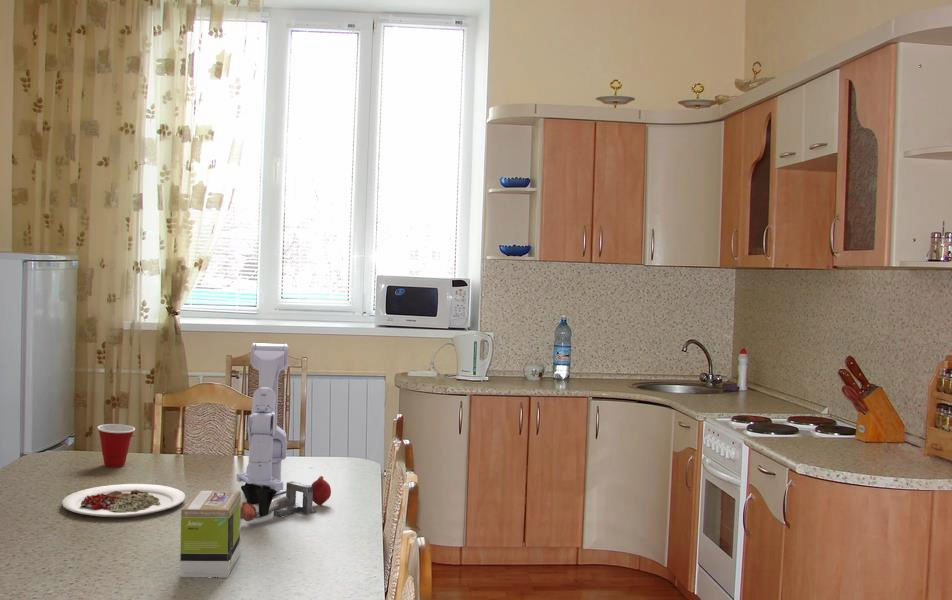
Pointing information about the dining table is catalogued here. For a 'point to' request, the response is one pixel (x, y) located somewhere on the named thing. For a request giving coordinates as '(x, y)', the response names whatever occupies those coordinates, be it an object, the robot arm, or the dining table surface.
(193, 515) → the tea box
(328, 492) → the pomegranate
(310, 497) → the eye bracket
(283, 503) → the copper capped rod
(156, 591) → the dining table surface
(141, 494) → the plated food
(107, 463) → the plastic cup
